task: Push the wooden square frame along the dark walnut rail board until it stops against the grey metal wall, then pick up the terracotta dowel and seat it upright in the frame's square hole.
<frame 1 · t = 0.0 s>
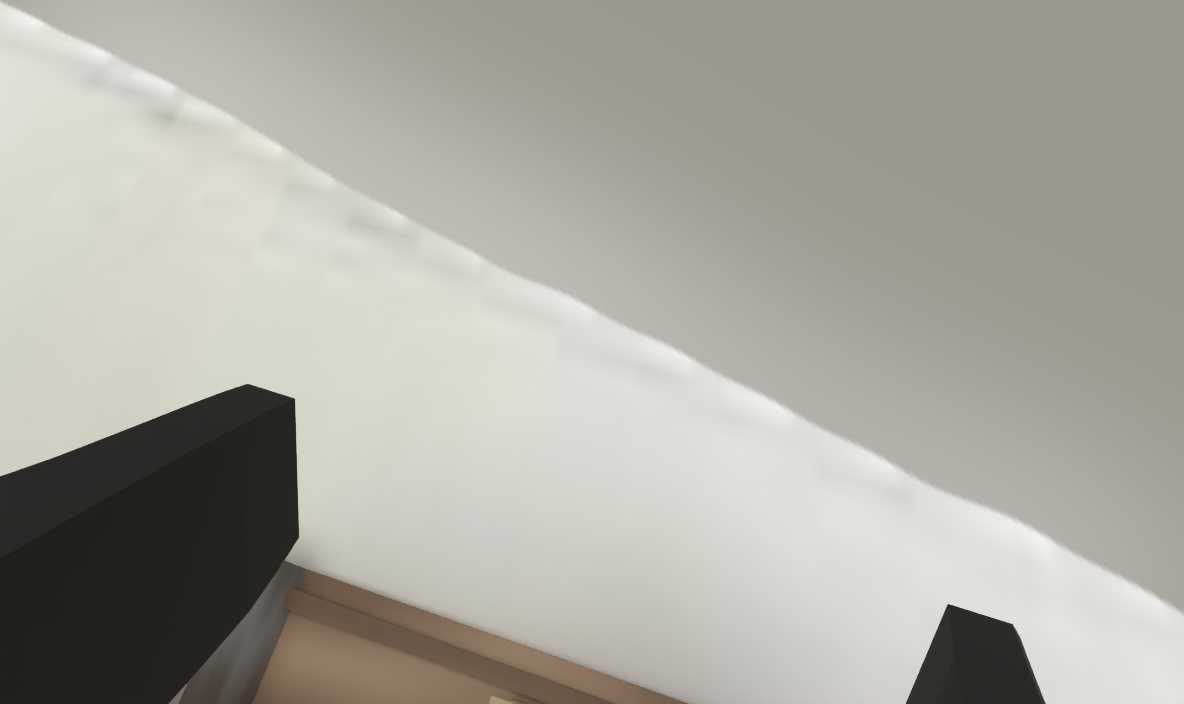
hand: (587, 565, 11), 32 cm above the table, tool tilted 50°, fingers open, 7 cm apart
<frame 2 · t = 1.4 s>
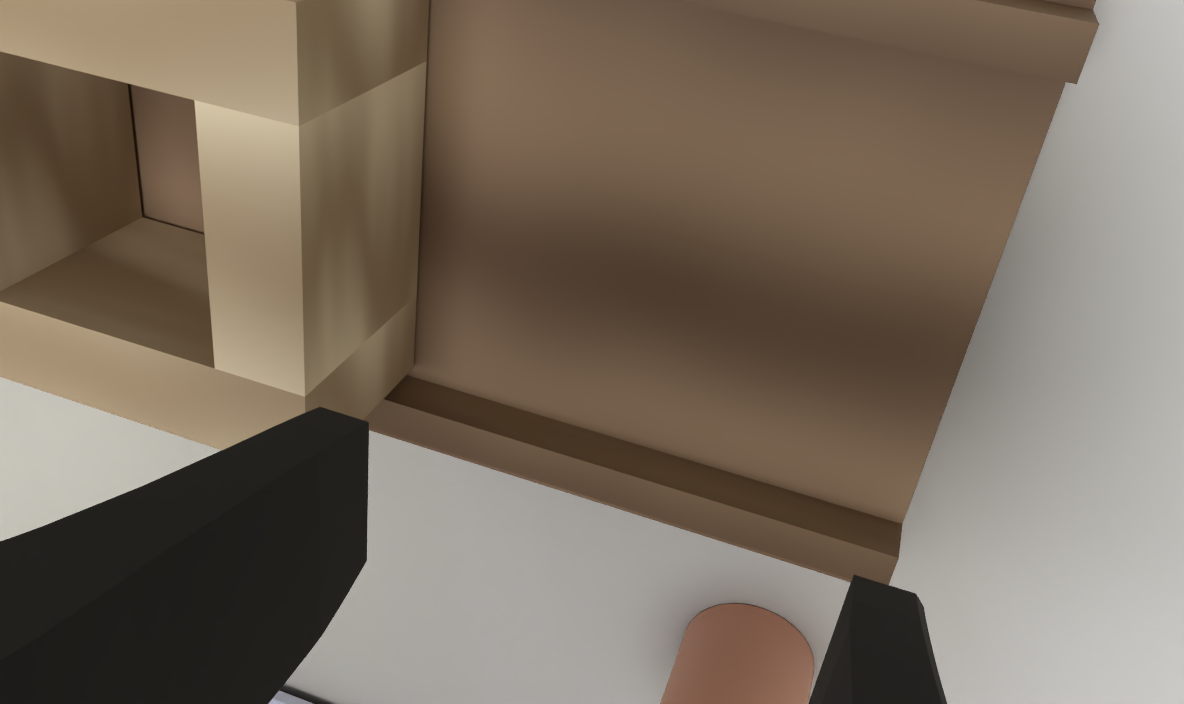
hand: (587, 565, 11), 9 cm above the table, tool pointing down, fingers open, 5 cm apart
rail board: (228, 107, 21), on the table
wooden square frame: (163, 169, 18), point 3 cm above the table, slide at 0.0 cm
dowel: (747, 655, 24), on the table
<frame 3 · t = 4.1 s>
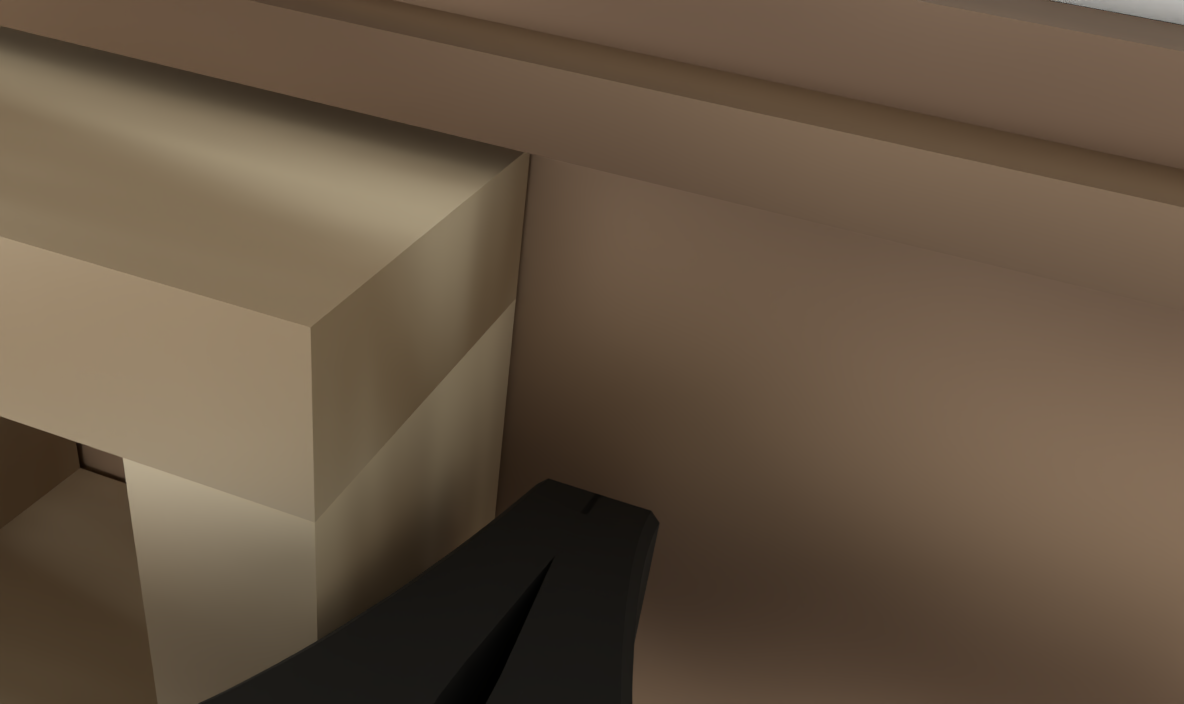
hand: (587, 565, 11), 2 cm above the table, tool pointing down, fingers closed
rail board: (229, 319, 14), on the table
wooden square frame: (95, 464, 11), point 3 cm above the table, slide at 0.4 cm, touching gripper
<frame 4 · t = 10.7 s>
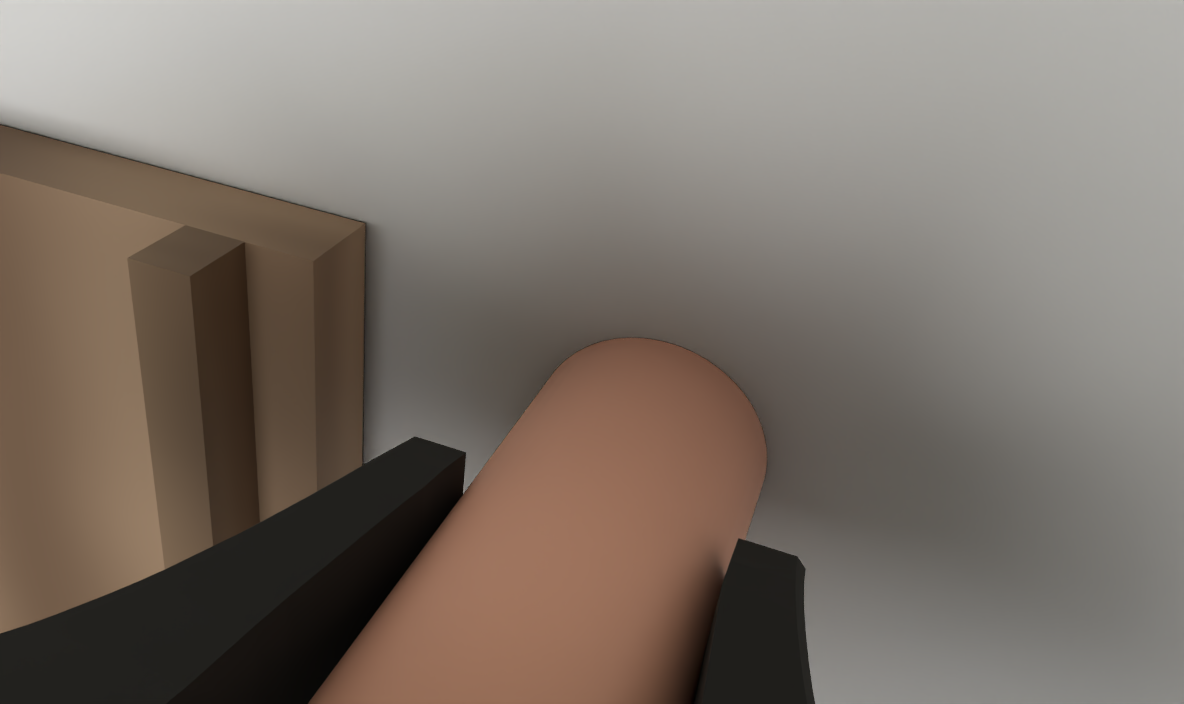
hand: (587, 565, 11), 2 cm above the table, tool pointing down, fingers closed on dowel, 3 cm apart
dowel: (648, 444, 13), on the table, touching gripper
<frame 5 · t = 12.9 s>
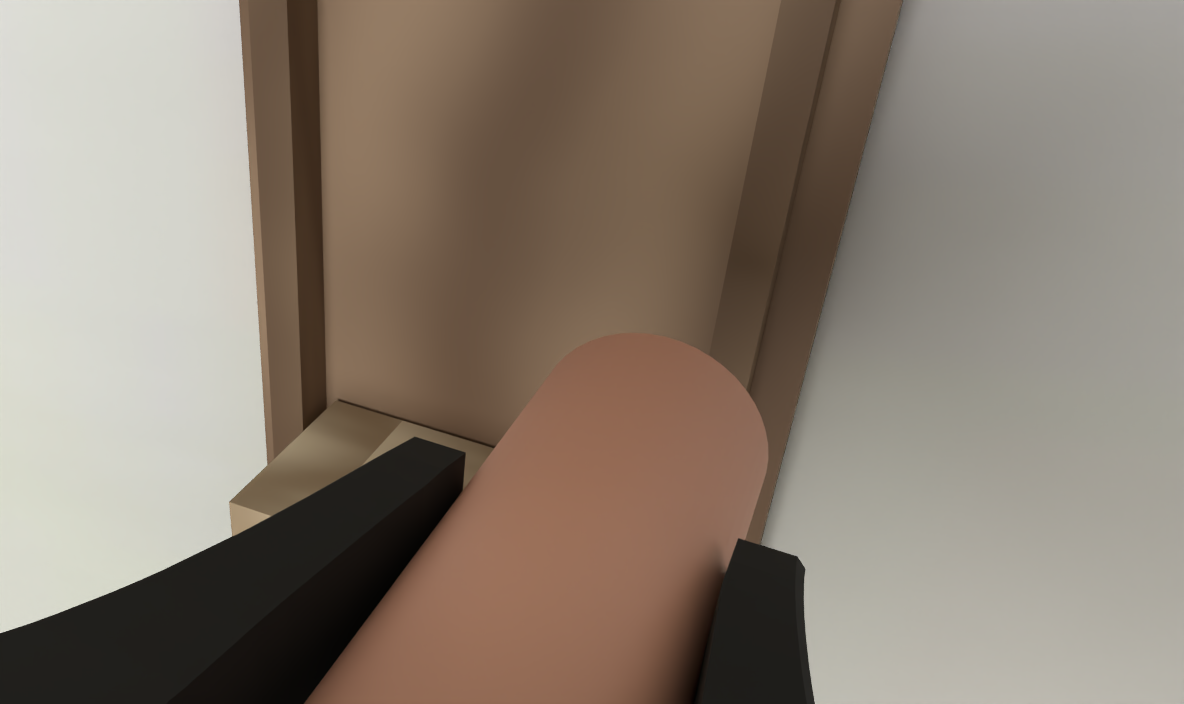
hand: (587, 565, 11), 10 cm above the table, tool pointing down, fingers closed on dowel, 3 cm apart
rail board: (537, 220, 21), on the table
wooden square frame: (449, 639, 23), point 3 cm above the table, slide at 10.0 cm, touching rail board
dowel: (649, 440, 13), point 8 cm above the table, touching gripper
when the fingers open (6 cm above the table, at t = 15.2 s): dowel drops 2 cm, resting on rail board.
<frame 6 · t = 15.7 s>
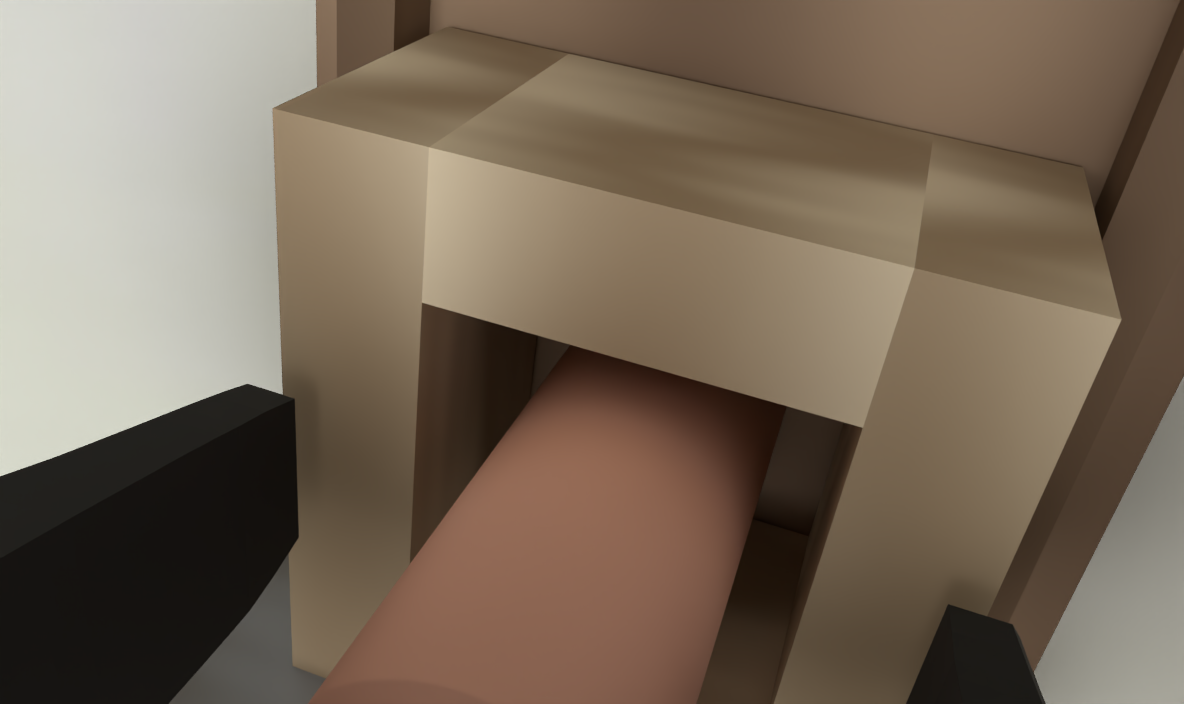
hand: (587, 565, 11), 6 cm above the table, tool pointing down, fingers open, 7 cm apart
wooden square frame: (650, 440, 13), point 3 cm above the table, slide at 10.0 cm, touching rail board
dowel: (689, 358, 15), point 1 cm above the table, touching rail board
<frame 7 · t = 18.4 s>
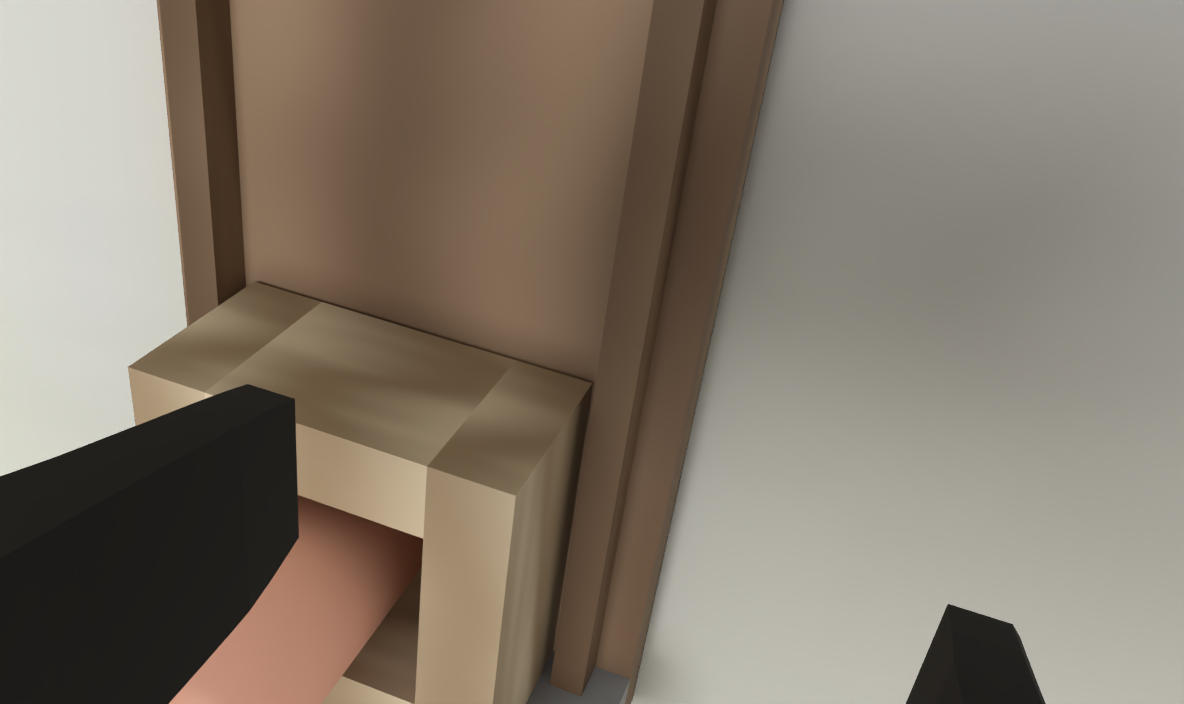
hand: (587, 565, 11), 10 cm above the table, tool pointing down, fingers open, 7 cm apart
rail board: (456, 85, 20), on the table
wooden square frame: (366, 528, 22), point 3 cm above the table, slide at 10.0 cm, touching rail board
dowel: (412, 471, 24), point 1 cm above the table, touching rail board
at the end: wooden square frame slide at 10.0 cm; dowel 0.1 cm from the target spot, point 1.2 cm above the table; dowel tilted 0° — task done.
